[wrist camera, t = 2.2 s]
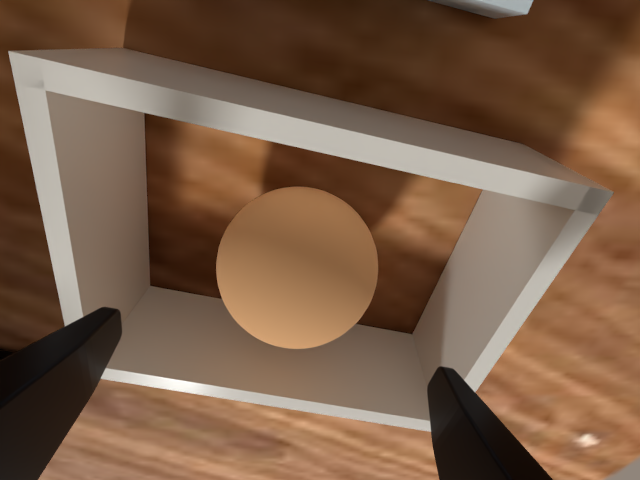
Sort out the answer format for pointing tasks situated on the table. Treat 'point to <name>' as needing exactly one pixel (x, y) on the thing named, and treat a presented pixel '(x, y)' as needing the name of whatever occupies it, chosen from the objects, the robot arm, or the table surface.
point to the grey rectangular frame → (303, 132)
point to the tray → (490, 7)
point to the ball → (297, 267)
